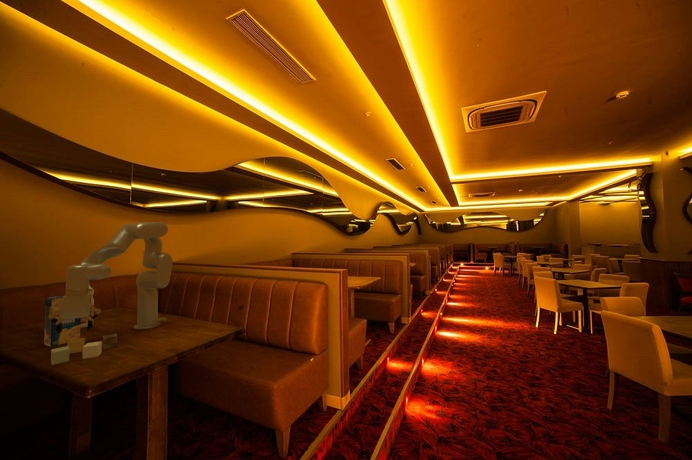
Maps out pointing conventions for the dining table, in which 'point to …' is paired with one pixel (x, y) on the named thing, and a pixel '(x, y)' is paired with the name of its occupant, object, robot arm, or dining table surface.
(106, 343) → the walnut cube
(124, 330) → the dining table surface
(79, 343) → the ochre cube
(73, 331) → the blue cardboard box
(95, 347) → the cream cube
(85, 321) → the fruit juice
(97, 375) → the dining table surface
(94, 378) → the dining table surface
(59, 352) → the sage cube
